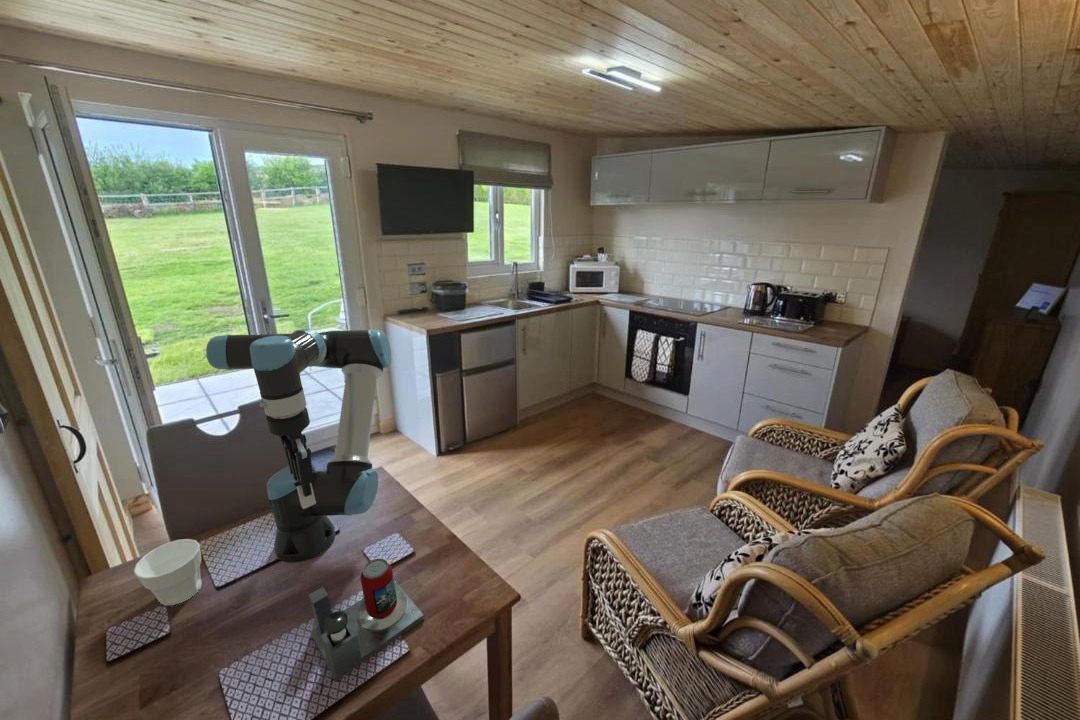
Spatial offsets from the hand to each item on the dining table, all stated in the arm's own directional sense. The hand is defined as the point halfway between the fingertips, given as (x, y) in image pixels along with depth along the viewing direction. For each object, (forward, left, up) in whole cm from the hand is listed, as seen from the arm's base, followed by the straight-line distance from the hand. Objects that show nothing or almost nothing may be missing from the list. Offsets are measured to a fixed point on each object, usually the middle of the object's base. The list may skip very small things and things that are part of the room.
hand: (308, 504), depth 101 cm
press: (+16, +3, -26) cm, 31 cm away
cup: (-26, -26, -27) cm, 45 cm away
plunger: (+20, -4, -24) cm, 31 cm away
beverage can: (+15, +7, -25) cm, 30 cm away
